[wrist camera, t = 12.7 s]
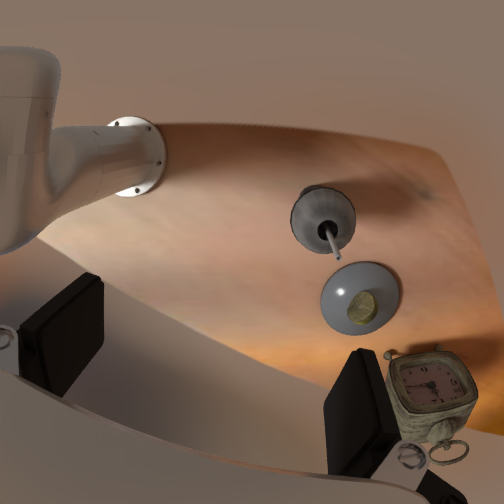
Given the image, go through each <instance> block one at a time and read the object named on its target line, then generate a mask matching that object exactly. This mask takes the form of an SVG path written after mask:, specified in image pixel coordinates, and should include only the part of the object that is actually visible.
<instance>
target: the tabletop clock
mask: <svg viewBox="0 0 504 504" xmlns="http://www.w3.org/2000/svg"><path fill="white" fill-rule="evenodd" d="M442 350H443V347H442V345H437V346H436V347H435V351H434V352H424V353H417V354H412V355H406V356H401V357H398V358H395V359H392V353H391V352H389V351H387V352H385V353H384V359H386V360H389V361H390V363H389V368H388V372H387V377H386V382H385V385H386V388H387V391H388V393H389V397H390V400H391V403H392V406H393V410H394V413H395V416H396V420H397V423H398V426H399V430H400V433H401V437H402V440H413V441H415V442H417V443H419V444H420V443H426V442H430V443H431V444H432V445H435V446H434V447H432V448H431V449H430V451H429V452H428V455H429V457H430V462H432V463H433V464H436V465H442V466H444V465H450V464H453V463H457V462H459V461H461V460H462V459H463V458H465V457H466V456H467V454H468V452H469V446H468V444H467V443H465V442H463V441H461V440H451V439H452V437H453V435H454V433H456V432H458V431H459V430H461V429H462V428H463V427H464V426H465V424H466V422H467V420H468V418H469V416H470V414H471V412H472V410H473V408H474V406H475V404H476V402H477V400H478V389H477V386H476V384H475V382H474V379H473V377H472V375H471V373H470V372H469V370H468V369H467V367H466V366H465V365H464V363H463V362H462V361H461V360H460V359H459V358H458V357H457V356H456V355H455V354H454V353H452V352H449V351H442ZM449 440H451V441H449ZM451 444H463V445H465V446H466V451H465V453H464V454H463V455H462V456H460V457H458V458H456V459H453V460H449V461H444V462H443V461H436V460H434V459H432V458H431V456H430V454H431V453H432V452H433V451H434V450H436V449H438V448H440V447H444V450H449V449H450V447H451V446H450V445H451Z"/></svg>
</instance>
